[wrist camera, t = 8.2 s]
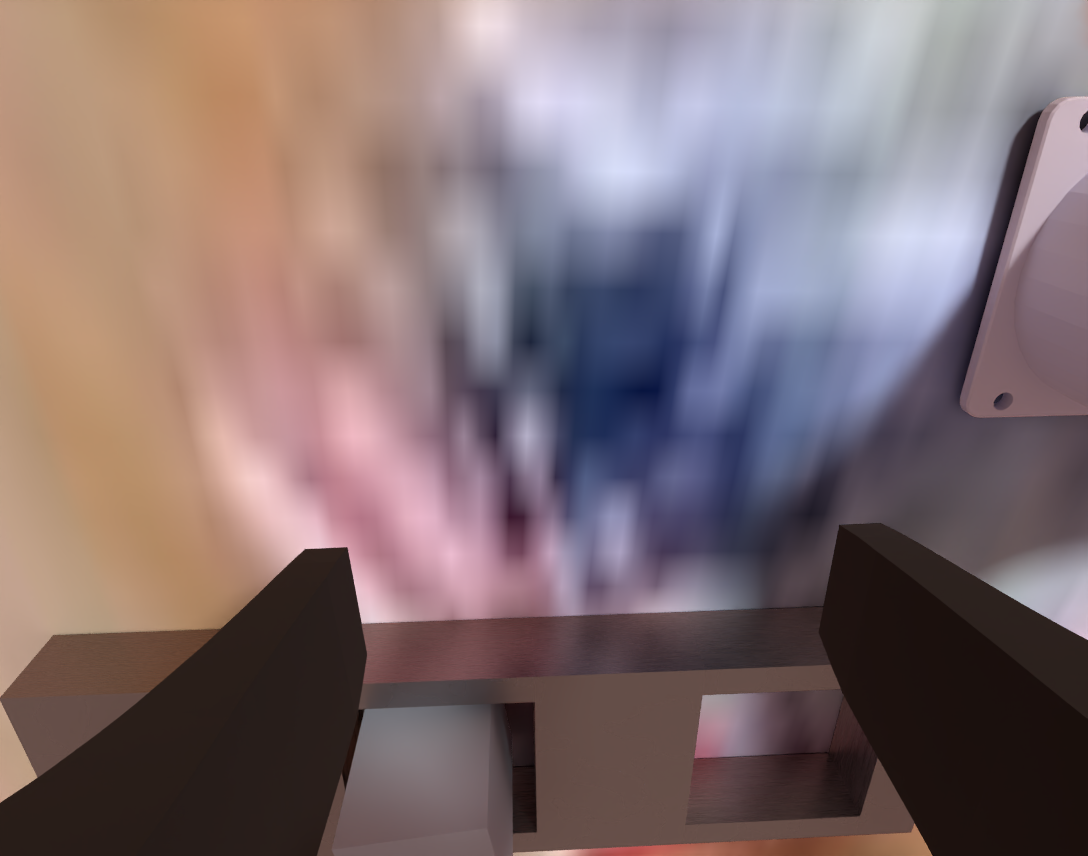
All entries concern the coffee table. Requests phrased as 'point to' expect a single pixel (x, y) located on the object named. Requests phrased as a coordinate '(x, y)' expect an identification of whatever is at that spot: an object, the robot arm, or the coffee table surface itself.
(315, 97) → the coffee table surface
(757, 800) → the rail
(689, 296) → the coffee table surface
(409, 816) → the peg
